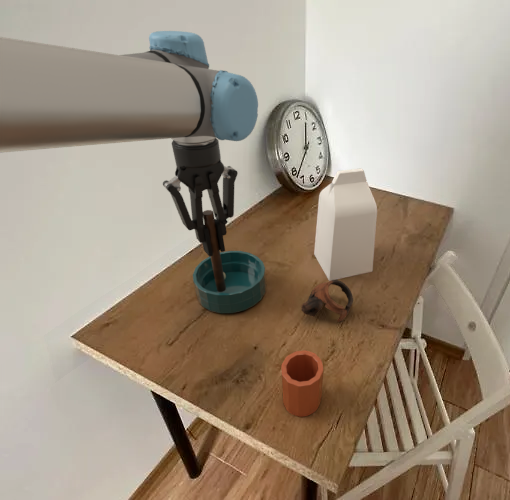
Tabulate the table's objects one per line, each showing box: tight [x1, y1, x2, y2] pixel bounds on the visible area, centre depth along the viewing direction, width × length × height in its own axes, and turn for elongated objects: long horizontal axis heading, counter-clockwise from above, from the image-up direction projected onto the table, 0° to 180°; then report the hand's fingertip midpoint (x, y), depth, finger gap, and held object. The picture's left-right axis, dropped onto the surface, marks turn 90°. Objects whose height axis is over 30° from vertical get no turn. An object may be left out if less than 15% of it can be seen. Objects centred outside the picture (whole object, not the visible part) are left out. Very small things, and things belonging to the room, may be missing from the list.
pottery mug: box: [301, 279, 354, 323], centre depth 77 cm, size 12×10×8 cm
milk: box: [313, 167, 378, 282], centre depth 86 cm, size 12×12×26 cm
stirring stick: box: [203, 209, 226, 292], centre depth 74 cm, size 2×2×20 cm
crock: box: [280, 349, 324, 418], centre depth 59 cm, size 7×7×9 cm
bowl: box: [192, 250, 267, 314], centre depth 81 cm, size 15×15×6 cm
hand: (214, 250), depth 74 cm, fingers closed on stirring stick, 2 cm apart
